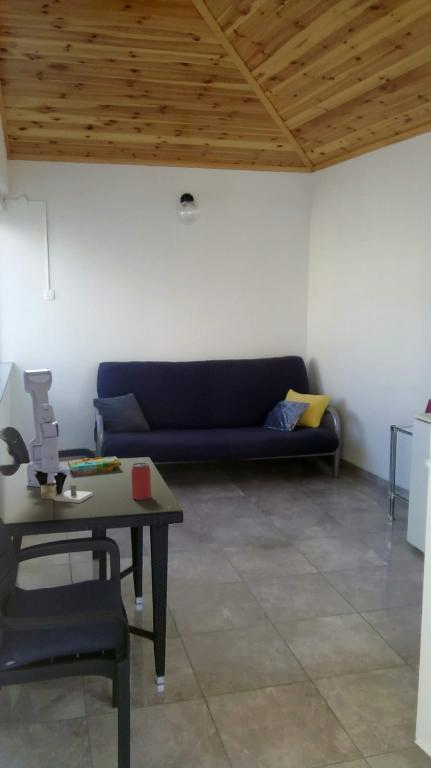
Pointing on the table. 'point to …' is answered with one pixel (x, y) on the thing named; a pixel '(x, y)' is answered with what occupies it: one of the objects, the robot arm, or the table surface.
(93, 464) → the puzzle game
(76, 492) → the pin block
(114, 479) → the table surface
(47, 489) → the collar
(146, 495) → the beer can
